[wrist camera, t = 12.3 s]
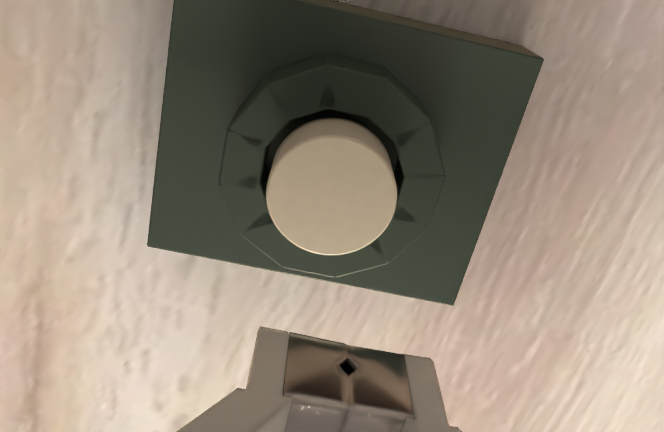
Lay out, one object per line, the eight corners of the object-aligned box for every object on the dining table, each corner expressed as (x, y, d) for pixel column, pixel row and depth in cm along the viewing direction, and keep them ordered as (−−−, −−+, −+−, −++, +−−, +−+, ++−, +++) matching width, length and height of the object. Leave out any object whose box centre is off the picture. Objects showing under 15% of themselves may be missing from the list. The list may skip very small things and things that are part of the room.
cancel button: (262, 216, 19) (255, 242, 17) (283, 104, 17) (279, 122, 16) (374, 239, 19) (378, 267, 18) (406, 131, 18) (413, 151, 16)
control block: (162, 219, 23) (130, 273, 19) (192, -33, 19) (160, -25, 15) (443, 275, 24) (463, 336, 20) (524, 45, 20) (566, 71, 16)
